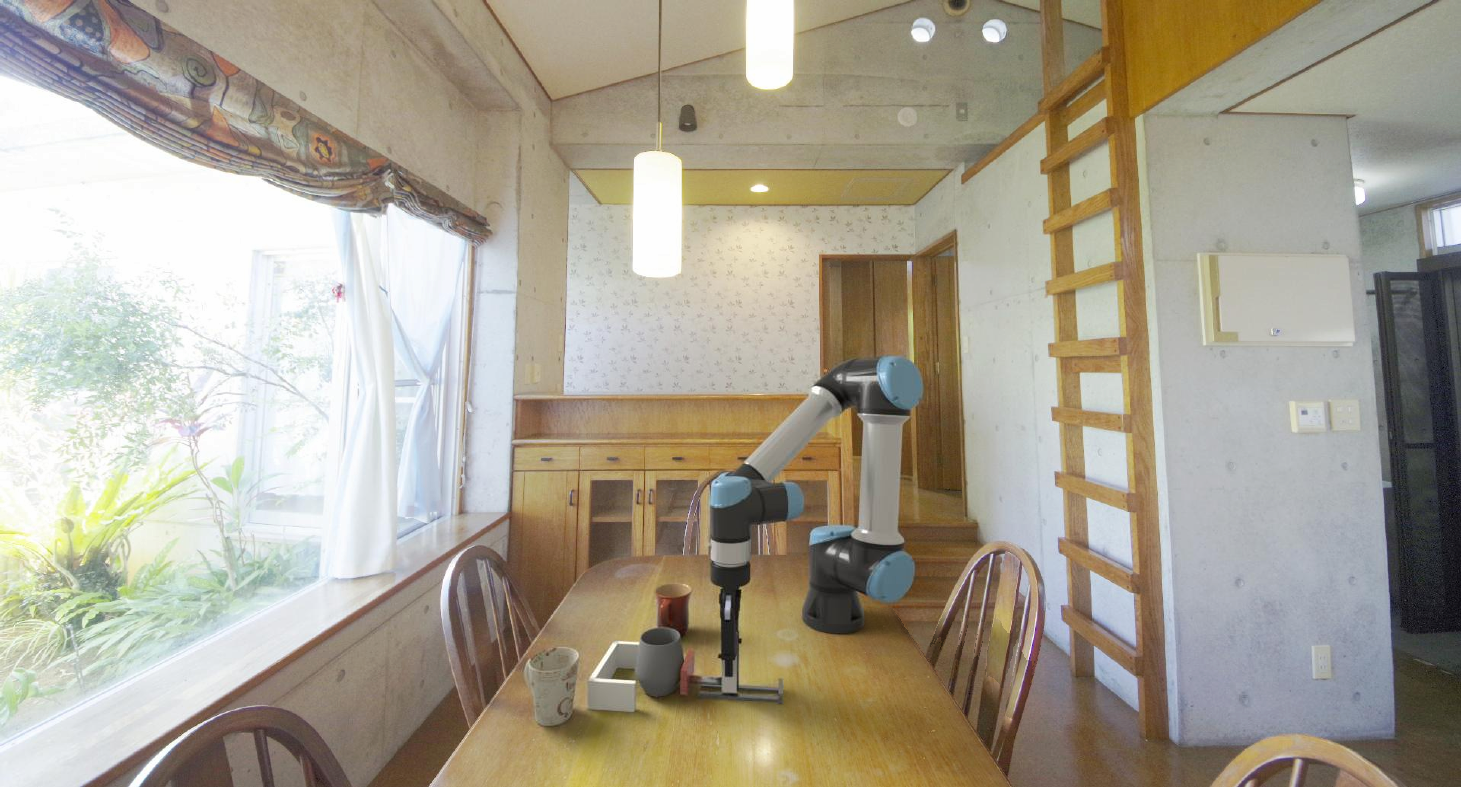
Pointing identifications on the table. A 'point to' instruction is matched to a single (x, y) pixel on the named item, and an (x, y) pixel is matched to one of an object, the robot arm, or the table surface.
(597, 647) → the table surface
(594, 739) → the table surface
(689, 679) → the rail slider
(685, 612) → the mug
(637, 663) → the cup
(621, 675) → the table surface
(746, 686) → the rails
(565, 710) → the mug
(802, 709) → the table surface
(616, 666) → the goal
